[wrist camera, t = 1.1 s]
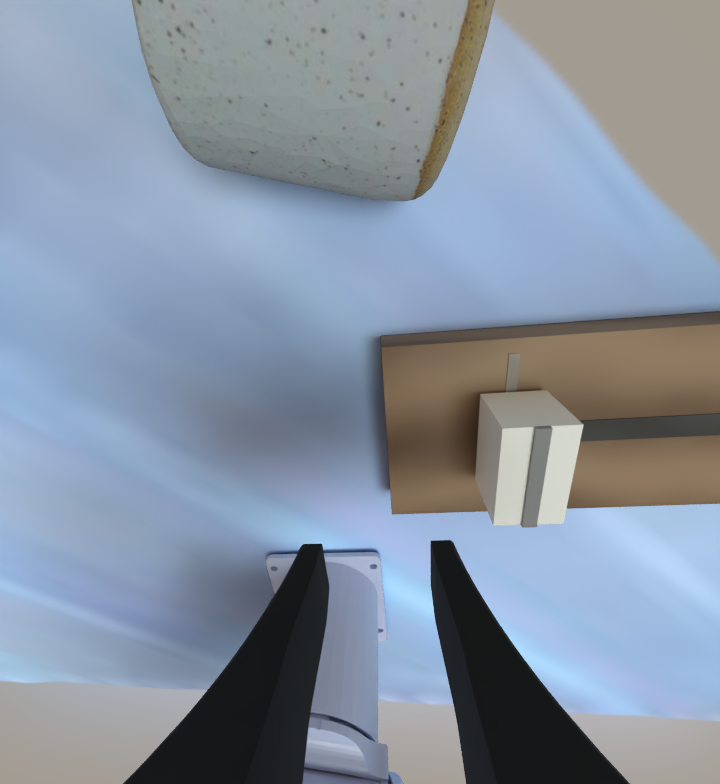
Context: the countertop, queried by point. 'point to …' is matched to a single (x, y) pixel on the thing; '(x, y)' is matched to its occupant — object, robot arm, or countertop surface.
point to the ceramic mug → (317, 86)
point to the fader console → (575, 392)
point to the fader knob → (526, 457)
